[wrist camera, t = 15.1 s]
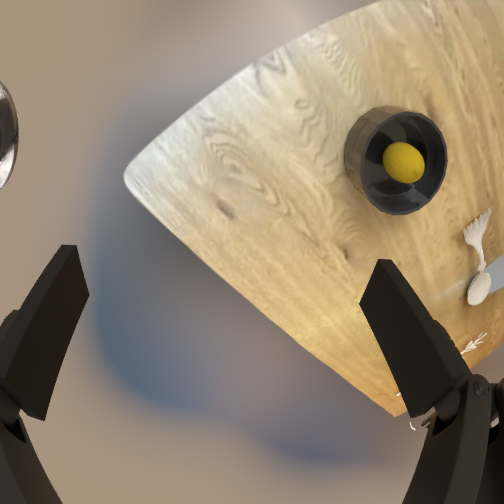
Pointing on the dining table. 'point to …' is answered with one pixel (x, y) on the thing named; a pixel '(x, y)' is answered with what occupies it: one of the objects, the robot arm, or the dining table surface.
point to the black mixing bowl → (371, 158)
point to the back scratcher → (475, 238)
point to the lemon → (403, 162)
